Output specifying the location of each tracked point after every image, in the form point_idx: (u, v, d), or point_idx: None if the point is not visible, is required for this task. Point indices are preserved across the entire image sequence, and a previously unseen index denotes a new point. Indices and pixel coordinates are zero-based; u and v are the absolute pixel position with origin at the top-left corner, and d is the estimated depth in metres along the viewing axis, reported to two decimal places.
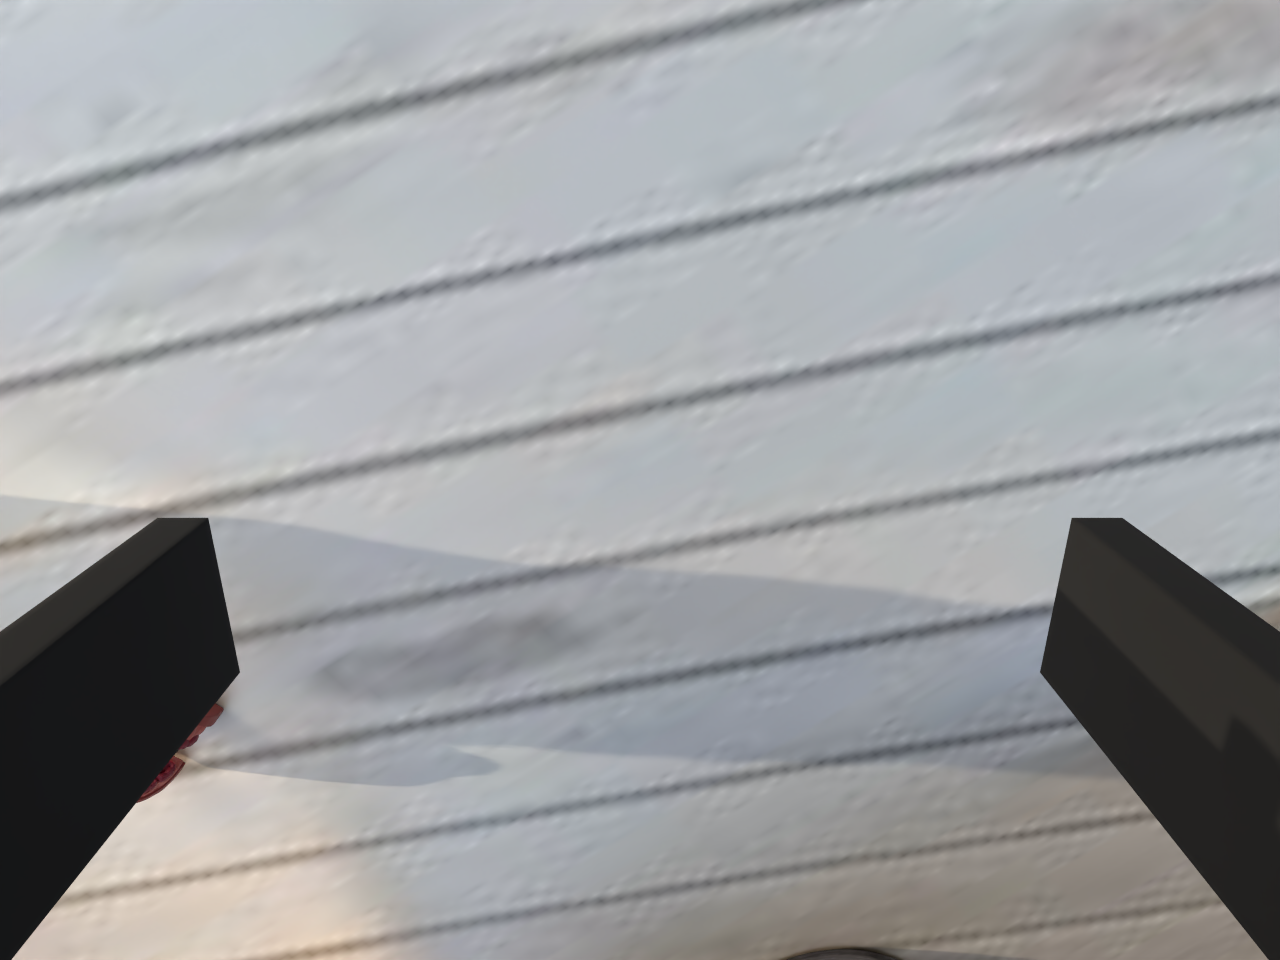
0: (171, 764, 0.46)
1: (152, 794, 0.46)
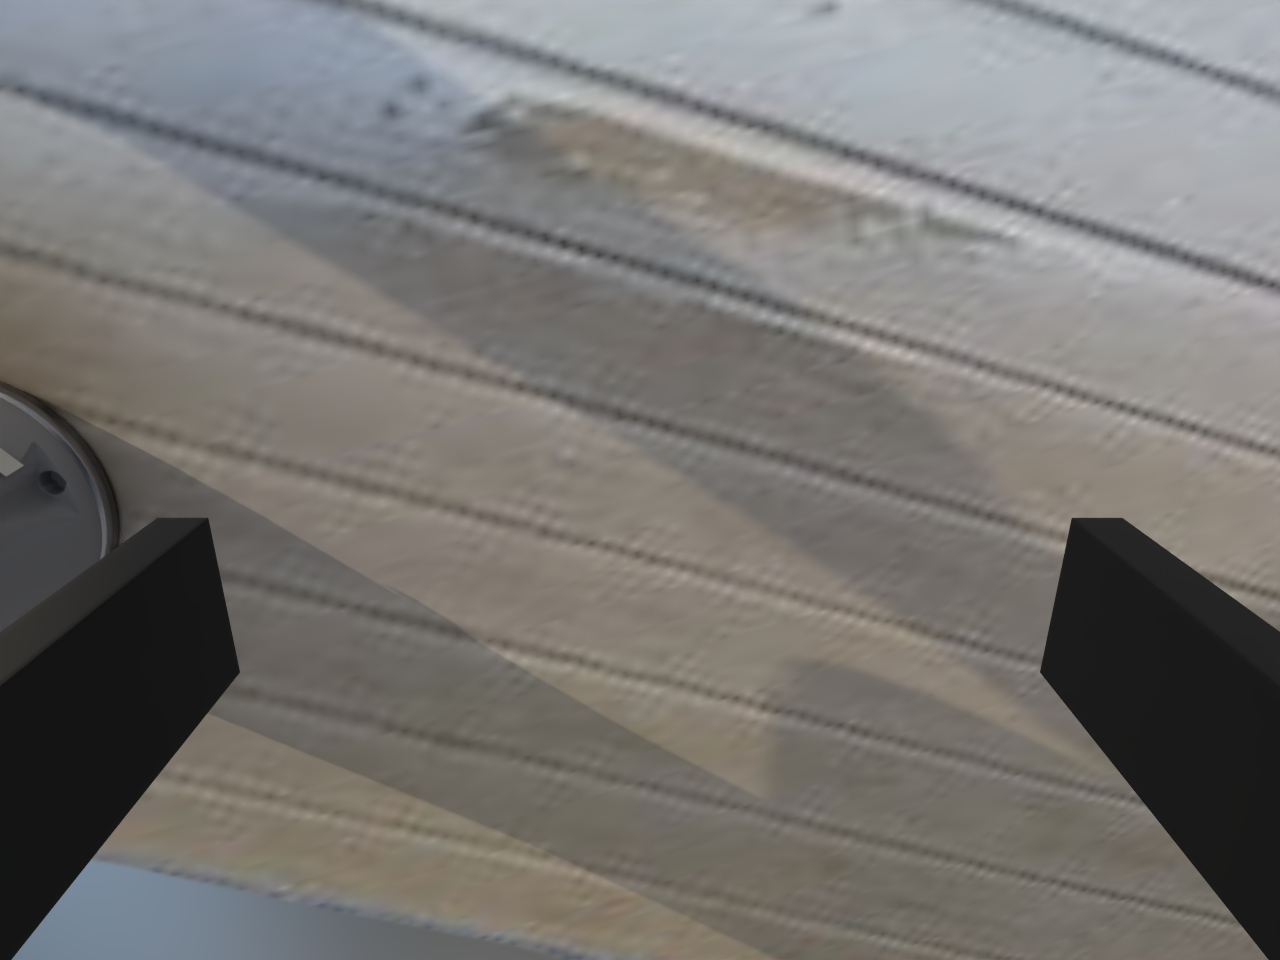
0: None
1: None
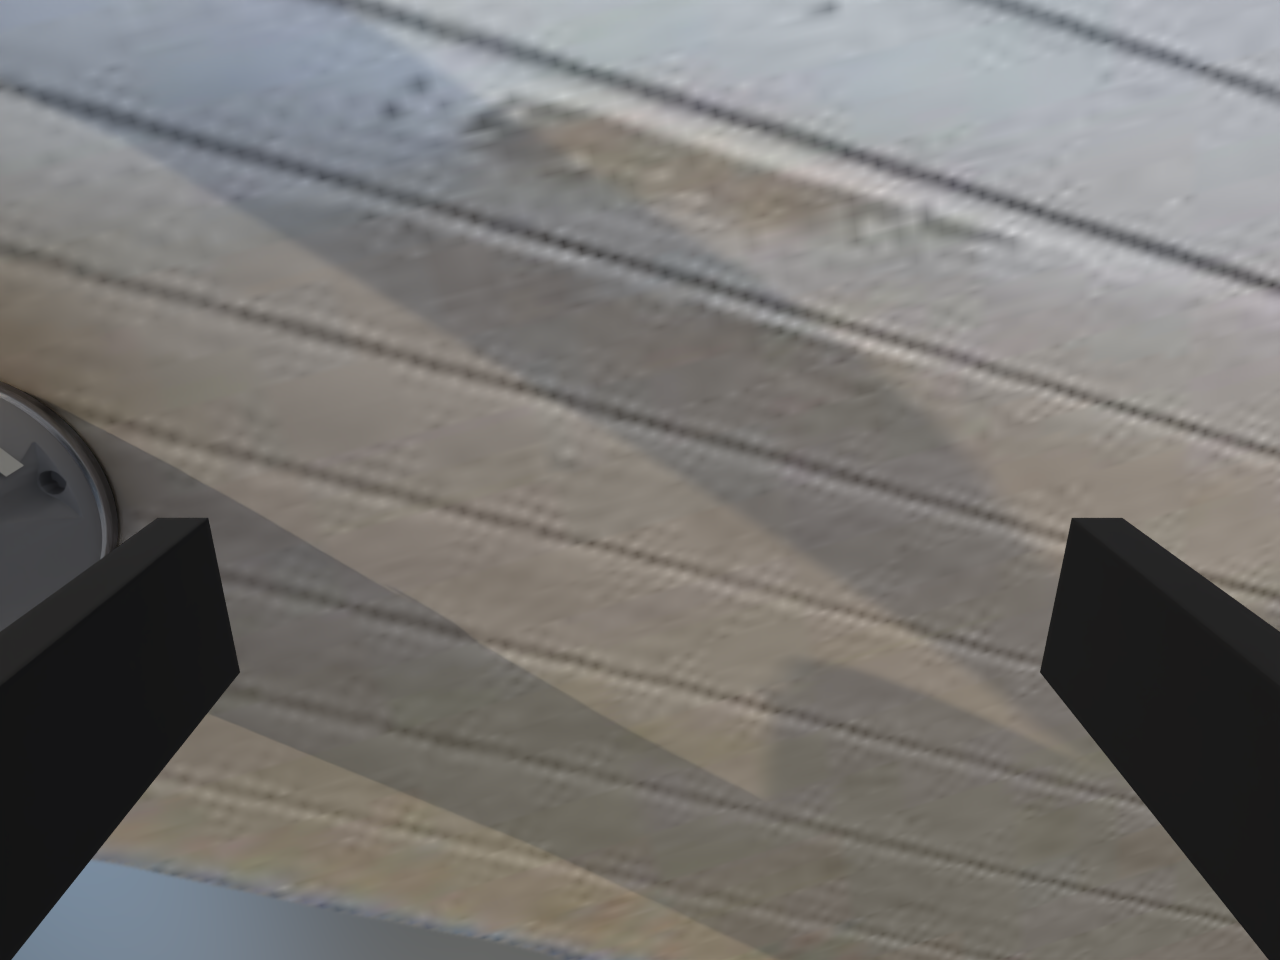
0: None
1: None
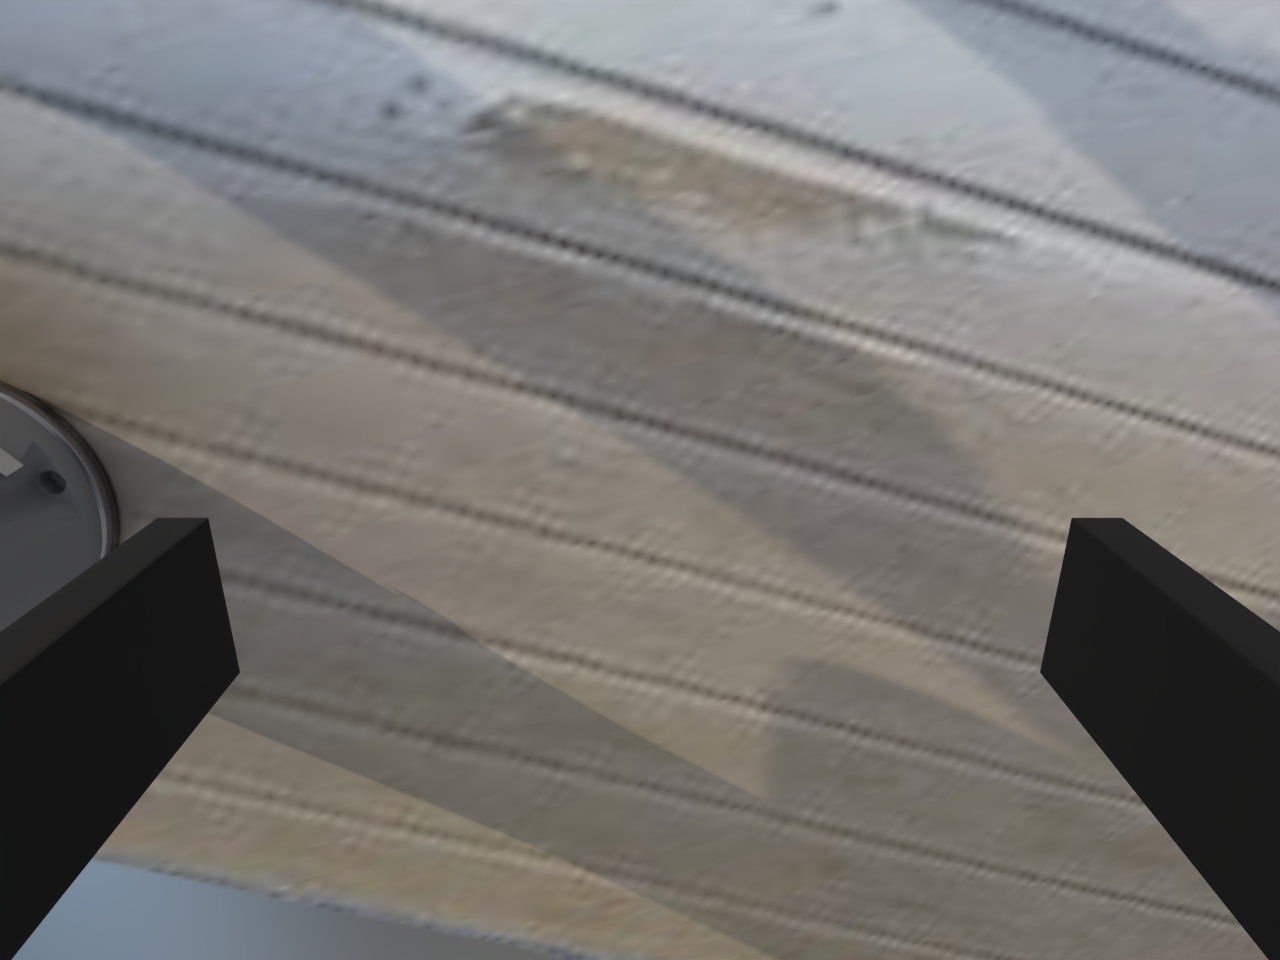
0: None
1: None
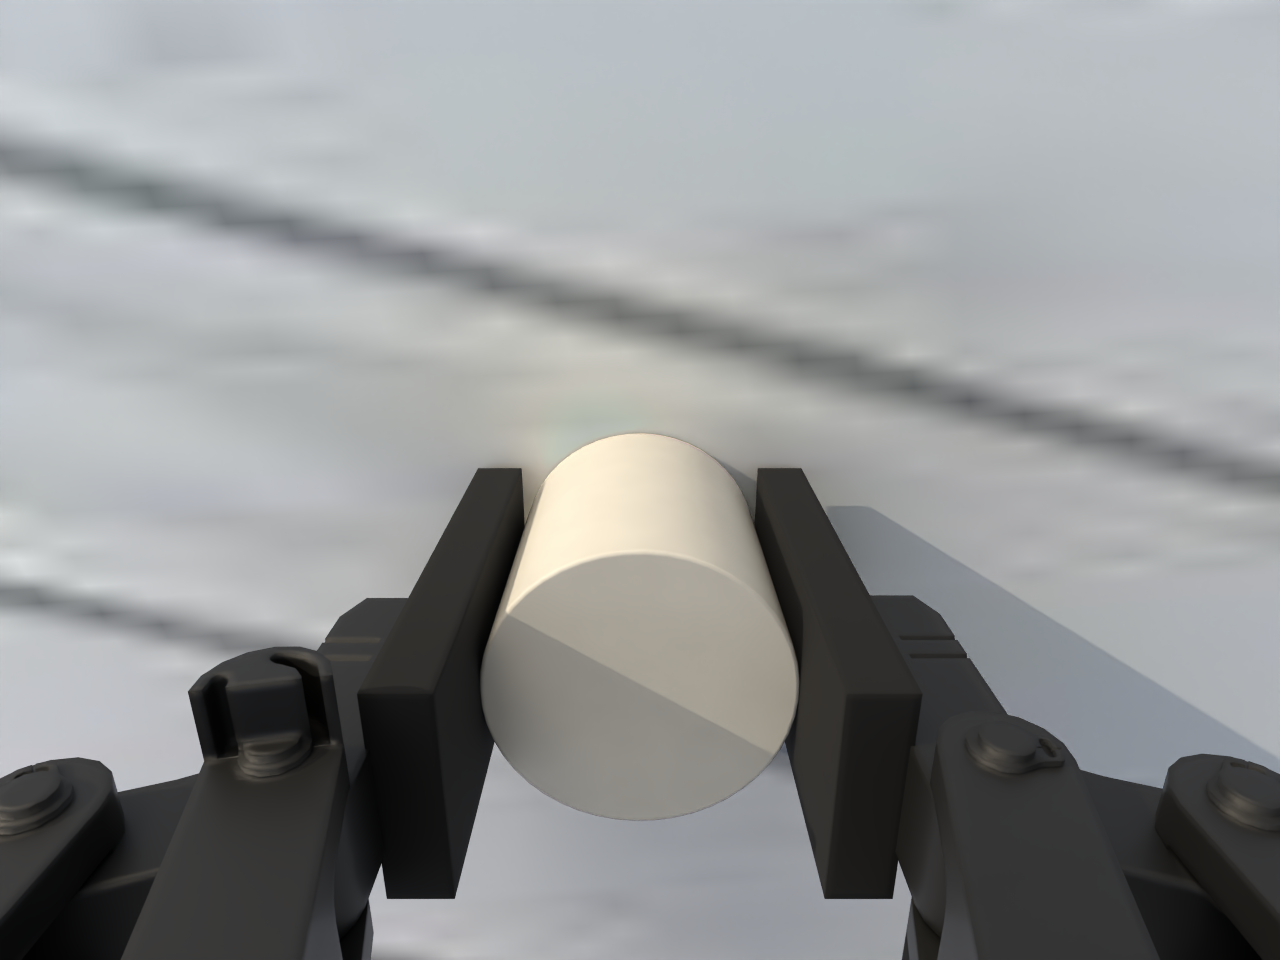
0: None
1: None
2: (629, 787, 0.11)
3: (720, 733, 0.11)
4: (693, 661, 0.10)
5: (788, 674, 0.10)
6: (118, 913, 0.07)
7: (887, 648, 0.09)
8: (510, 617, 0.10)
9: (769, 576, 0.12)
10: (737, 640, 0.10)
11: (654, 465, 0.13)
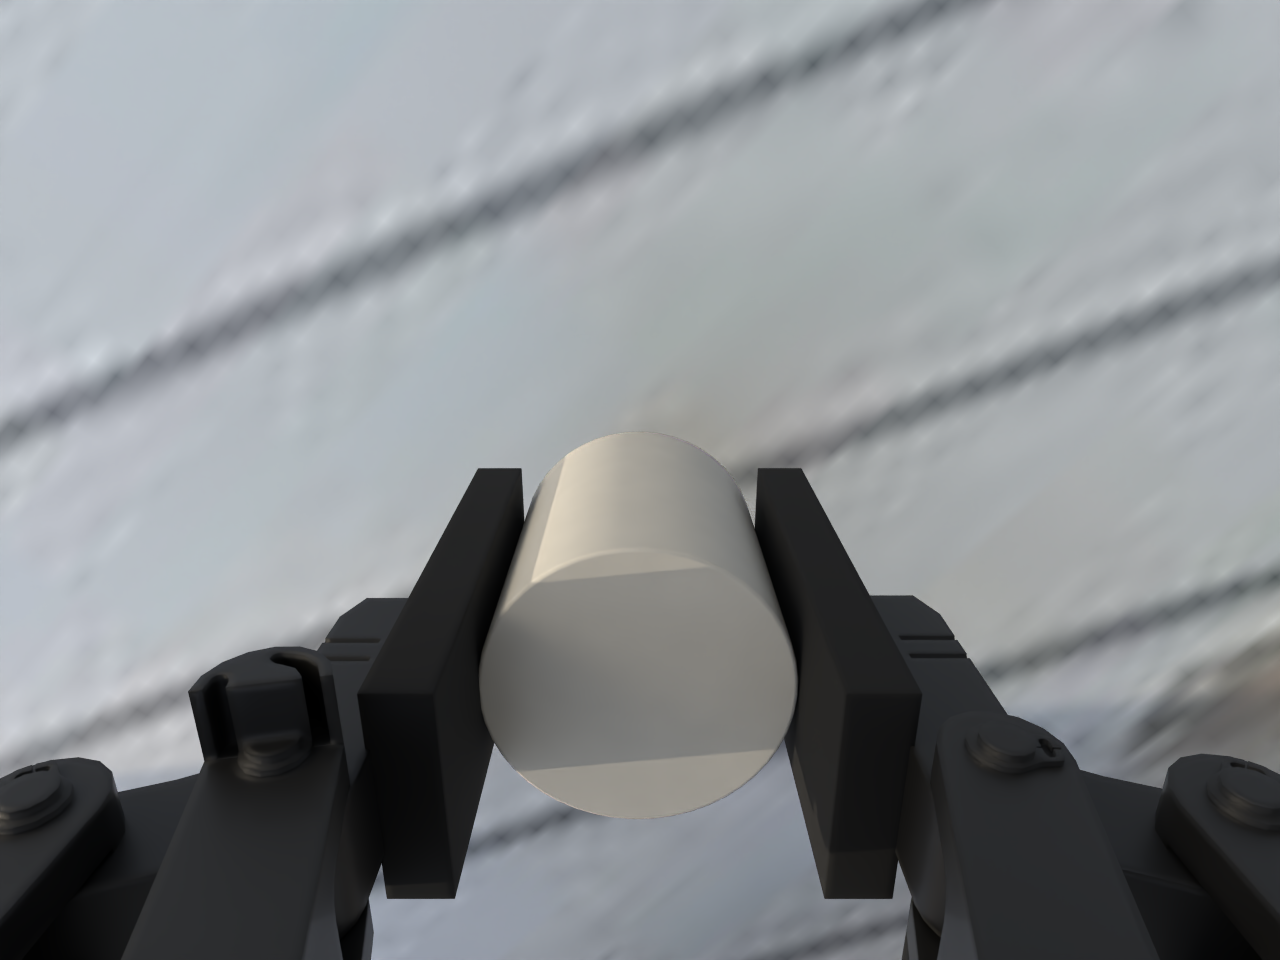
0: None
1: None
2: (627, 785, 0.11)
3: (719, 731, 0.11)
4: (690, 658, 0.10)
5: (786, 672, 0.10)
6: (118, 913, 0.07)
7: (887, 648, 0.09)
8: (508, 614, 0.10)
9: (768, 574, 0.12)
10: (735, 638, 0.10)
11: (654, 463, 0.13)
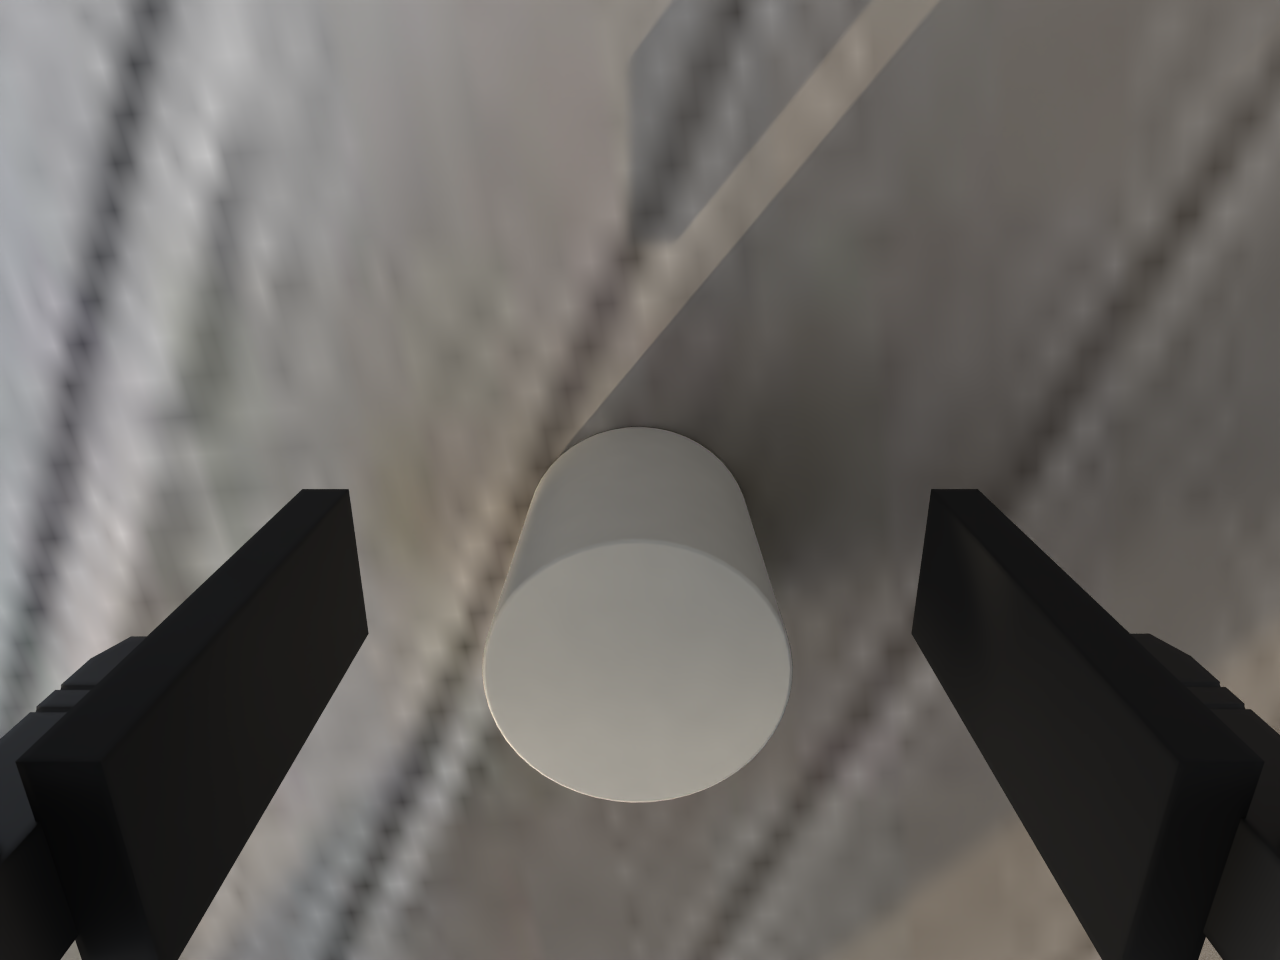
0: None
1: None
2: (627, 770, 0.11)
3: (715, 717, 0.11)
4: (688, 646, 0.11)
5: (781, 660, 0.11)
6: None
7: (1193, 704, 0.08)
8: (511, 604, 0.10)
9: (764, 565, 0.12)
10: (731, 626, 0.10)
11: (653, 458, 0.13)
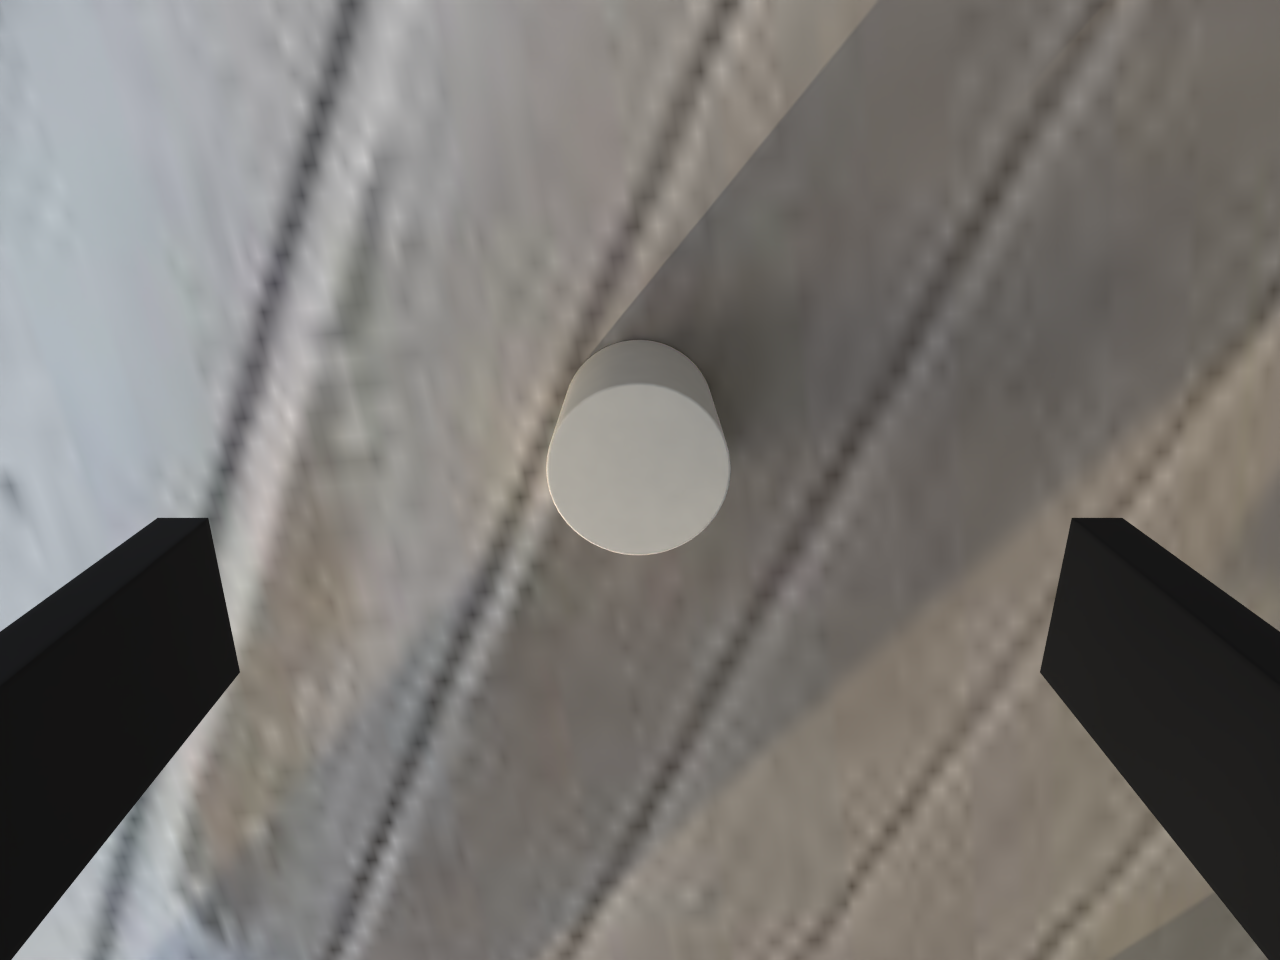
0: None
1: None
2: (632, 532, 0.19)
3: (685, 497, 0.18)
4: (668, 450, 0.18)
5: (723, 459, 0.18)
6: None
7: None
8: (565, 423, 0.18)
9: (716, 414, 0.19)
10: (693, 438, 0.18)
11: (648, 353, 0.20)
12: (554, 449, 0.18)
